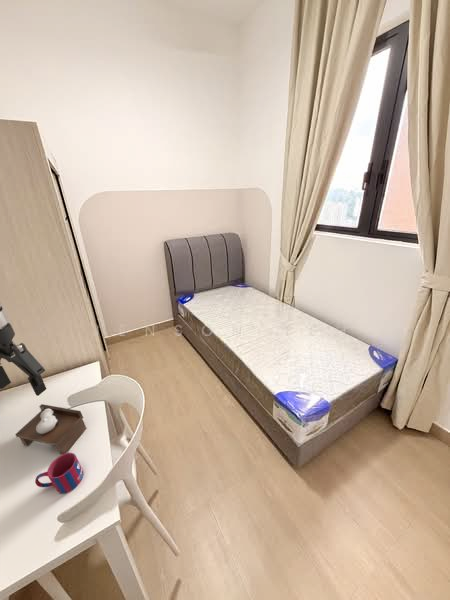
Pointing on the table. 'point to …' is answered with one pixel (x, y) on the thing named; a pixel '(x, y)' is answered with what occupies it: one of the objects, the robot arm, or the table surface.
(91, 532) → the table surface
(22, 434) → the shelf
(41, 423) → the smooth white sculpture
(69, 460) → the mug
